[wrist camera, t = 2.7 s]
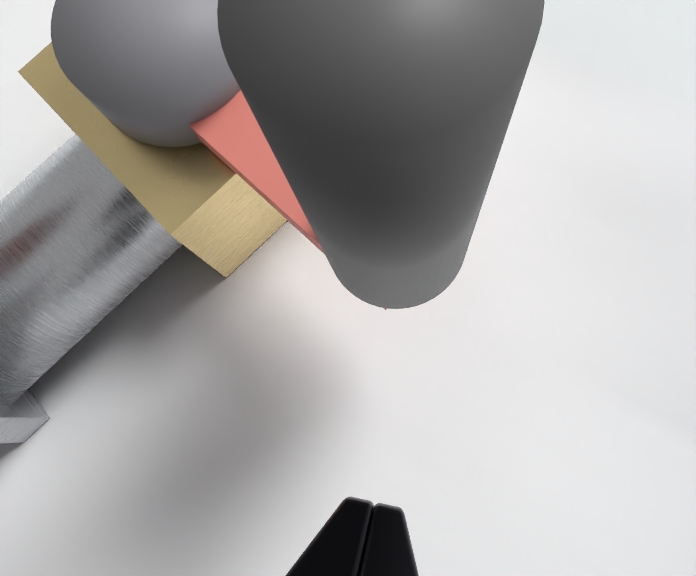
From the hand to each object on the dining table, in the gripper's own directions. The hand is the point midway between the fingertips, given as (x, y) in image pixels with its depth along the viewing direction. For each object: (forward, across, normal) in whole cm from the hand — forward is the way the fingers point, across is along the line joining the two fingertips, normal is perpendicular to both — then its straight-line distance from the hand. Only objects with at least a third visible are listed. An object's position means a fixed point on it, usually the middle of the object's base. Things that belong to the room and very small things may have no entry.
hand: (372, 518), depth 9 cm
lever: (+7, +4, -2) cm, 9 cm away
